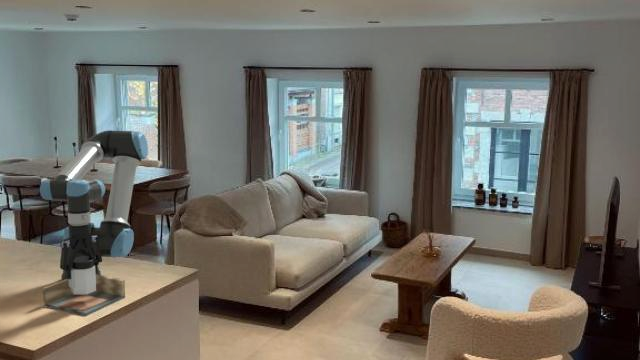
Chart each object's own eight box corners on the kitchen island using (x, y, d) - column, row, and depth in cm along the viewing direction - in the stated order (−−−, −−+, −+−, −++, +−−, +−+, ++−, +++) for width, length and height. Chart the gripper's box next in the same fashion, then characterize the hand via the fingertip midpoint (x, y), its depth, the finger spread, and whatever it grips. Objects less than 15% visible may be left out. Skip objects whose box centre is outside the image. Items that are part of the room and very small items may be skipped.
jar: (69, 288, 233) (67, 257, 231) (92, 285, 237) (90, 254, 235) (74, 296, 225) (72, 264, 223) (98, 292, 230) (96, 261, 227)
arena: (44, 306, 230) (42, 287, 229) (84, 289, 248) (83, 272, 247) (86, 315, 222) (85, 296, 221) (125, 297, 240) (124, 279, 239)
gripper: (56, 230, 216) (59, 293, 220) (111, 220, 231) (113, 280, 235) (46, 226, 221) (50, 288, 225) (100, 217, 236) (103, 275, 240)
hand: (82, 284), depth 230 cm, fingers closed on jar, 7 cm apart
